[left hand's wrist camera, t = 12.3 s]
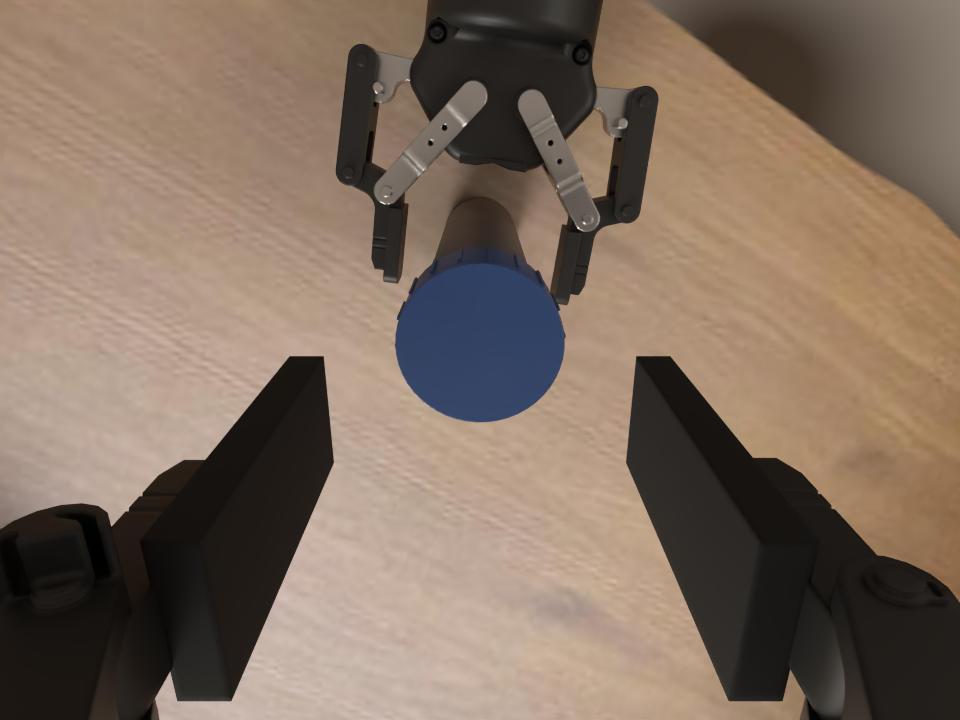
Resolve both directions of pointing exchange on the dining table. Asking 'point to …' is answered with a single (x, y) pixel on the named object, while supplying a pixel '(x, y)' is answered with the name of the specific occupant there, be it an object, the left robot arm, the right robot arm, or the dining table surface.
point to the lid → (479, 335)
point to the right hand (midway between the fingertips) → (475, 290)
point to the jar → (480, 229)
